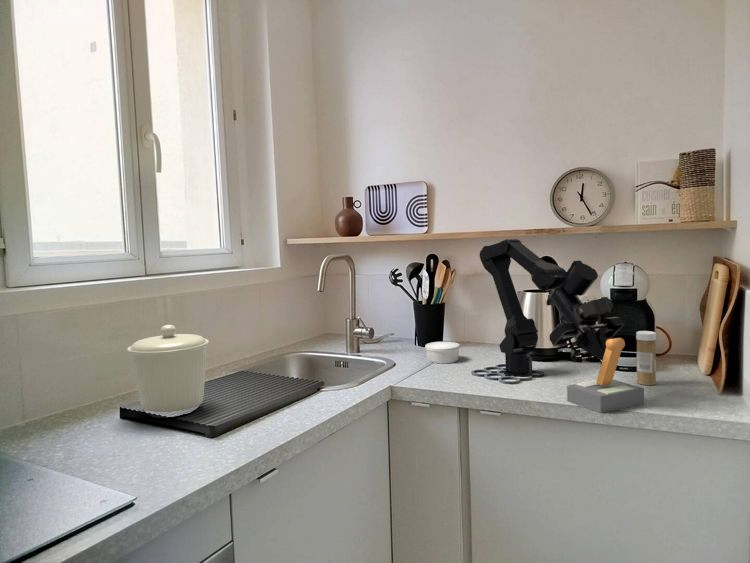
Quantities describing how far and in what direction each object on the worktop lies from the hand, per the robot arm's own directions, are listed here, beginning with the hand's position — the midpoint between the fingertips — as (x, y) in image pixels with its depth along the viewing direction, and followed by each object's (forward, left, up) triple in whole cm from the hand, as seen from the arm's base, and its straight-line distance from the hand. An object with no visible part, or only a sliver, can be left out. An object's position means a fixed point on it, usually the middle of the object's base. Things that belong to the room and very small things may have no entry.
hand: (606, 360), depth 119 cm
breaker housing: (-1, +1, -10) cm, 10 cm away
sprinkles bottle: (+4, +22, -10) cm, 25 cm away
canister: (-84, -58, -10) cm, 102 cm away
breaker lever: (-1, +1, -6) cm, 6 cm away
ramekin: (-55, +20, -10) cm, 59 cm away
